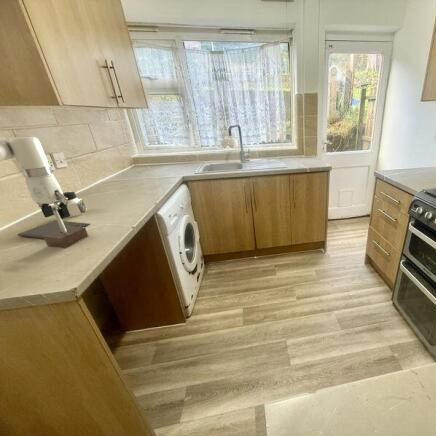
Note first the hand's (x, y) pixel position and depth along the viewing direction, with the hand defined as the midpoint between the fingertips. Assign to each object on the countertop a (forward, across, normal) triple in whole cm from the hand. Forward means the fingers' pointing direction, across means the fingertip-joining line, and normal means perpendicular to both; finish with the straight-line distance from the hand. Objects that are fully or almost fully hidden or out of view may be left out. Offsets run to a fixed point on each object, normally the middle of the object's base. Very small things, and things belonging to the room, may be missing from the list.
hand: (57, 216), depth 96 cm
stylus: (+11, 0, 0) cm, 11 cm away
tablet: (+11, -17, +7) cm, 22 cm away
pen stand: (+11, 0, 0) cm, 11 cm away
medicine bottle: (+11, -27, +24) cm, 38 cm away
